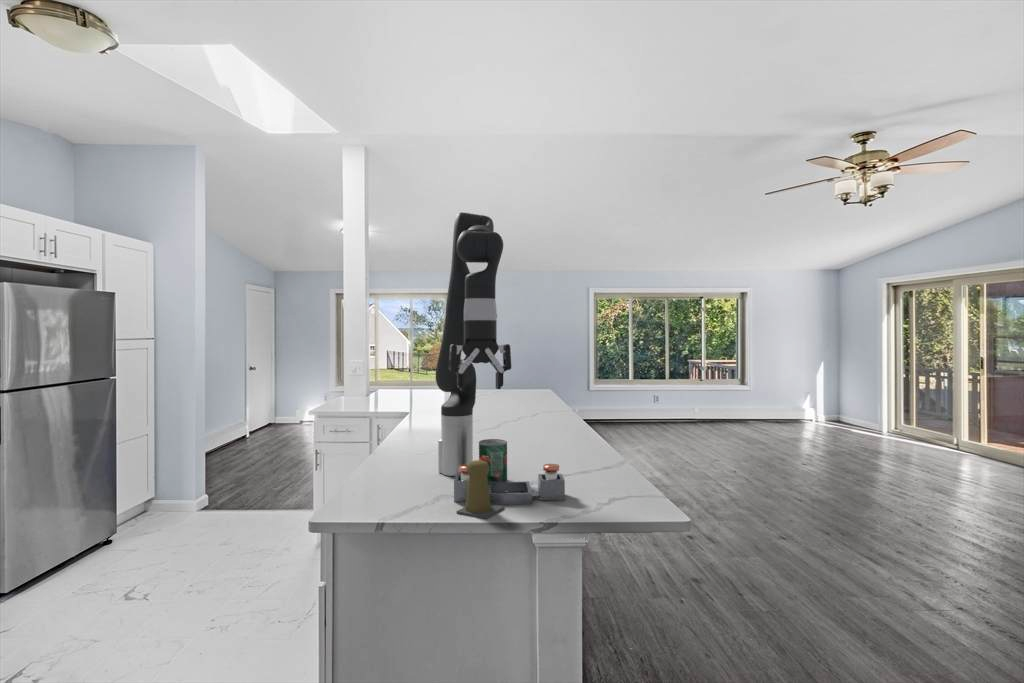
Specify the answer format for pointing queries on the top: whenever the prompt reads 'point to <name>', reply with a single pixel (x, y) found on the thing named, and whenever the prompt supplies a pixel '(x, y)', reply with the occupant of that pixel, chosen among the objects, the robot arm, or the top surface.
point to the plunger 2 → (550, 471)
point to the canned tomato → (494, 458)
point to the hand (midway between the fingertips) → (480, 389)
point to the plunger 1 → (463, 472)
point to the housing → (545, 490)
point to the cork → (478, 487)
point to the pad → (484, 515)
